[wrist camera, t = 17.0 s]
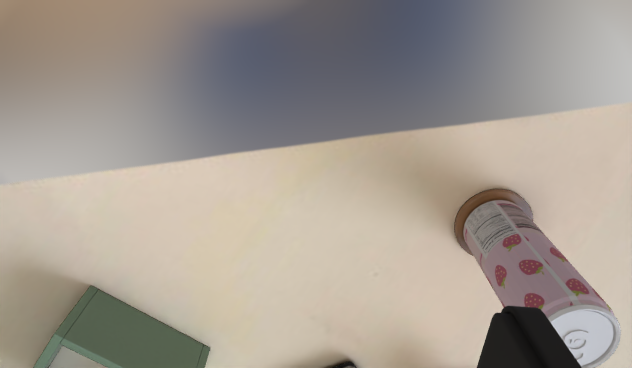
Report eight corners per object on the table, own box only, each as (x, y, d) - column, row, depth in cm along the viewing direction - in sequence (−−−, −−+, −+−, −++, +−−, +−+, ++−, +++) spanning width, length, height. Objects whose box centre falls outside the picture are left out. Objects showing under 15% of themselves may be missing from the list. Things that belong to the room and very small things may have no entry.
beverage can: (471, 261, 44) (542, 387, 30) (454, 211, 42) (521, 323, 28) (531, 240, 43) (632, 361, 29) (516, 189, 41) (617, 292, 27)
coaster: (438, 231, 43) (440, 234, 43) (491, 174, 41) (493, 177, 41) (493, 268, 45) (495, 271, 44) (547, 215, 43) (549, 218, 42)
